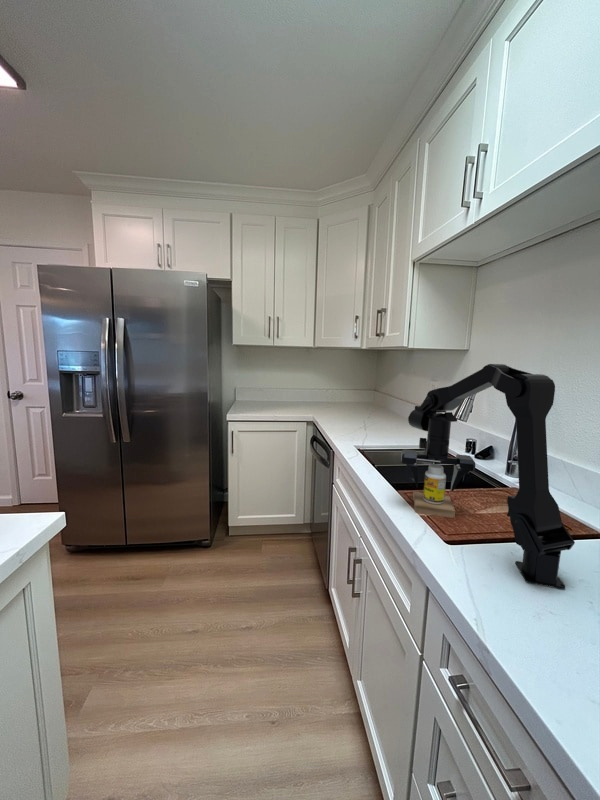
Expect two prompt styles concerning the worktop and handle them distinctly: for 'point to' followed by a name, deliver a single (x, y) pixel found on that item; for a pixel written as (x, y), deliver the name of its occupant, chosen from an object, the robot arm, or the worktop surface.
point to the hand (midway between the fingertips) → (434, 489)
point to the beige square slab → (433, 506)
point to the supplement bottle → (434, 484)
